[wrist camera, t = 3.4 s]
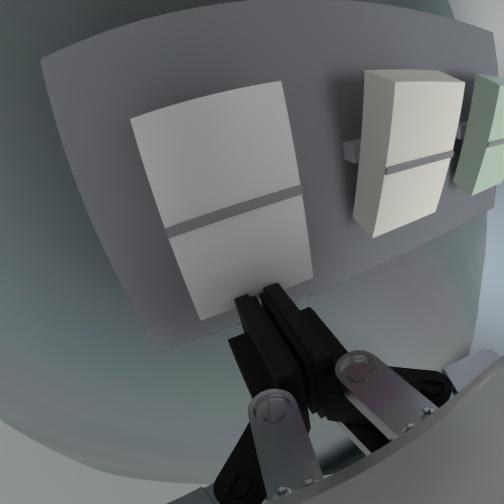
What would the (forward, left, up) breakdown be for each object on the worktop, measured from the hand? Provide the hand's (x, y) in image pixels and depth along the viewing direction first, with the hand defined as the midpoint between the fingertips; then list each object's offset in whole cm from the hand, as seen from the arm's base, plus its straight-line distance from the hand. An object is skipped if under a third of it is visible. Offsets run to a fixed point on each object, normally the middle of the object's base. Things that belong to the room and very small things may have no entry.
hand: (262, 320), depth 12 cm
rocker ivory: (-4, +8, -1) cm, 9 cm away
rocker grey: (-4, 0, -1) cm, 5 cm away
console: (-4, +8, -9) cm, 13 cm away
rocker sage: (-4, +16, -1) cm, 17 cm away
